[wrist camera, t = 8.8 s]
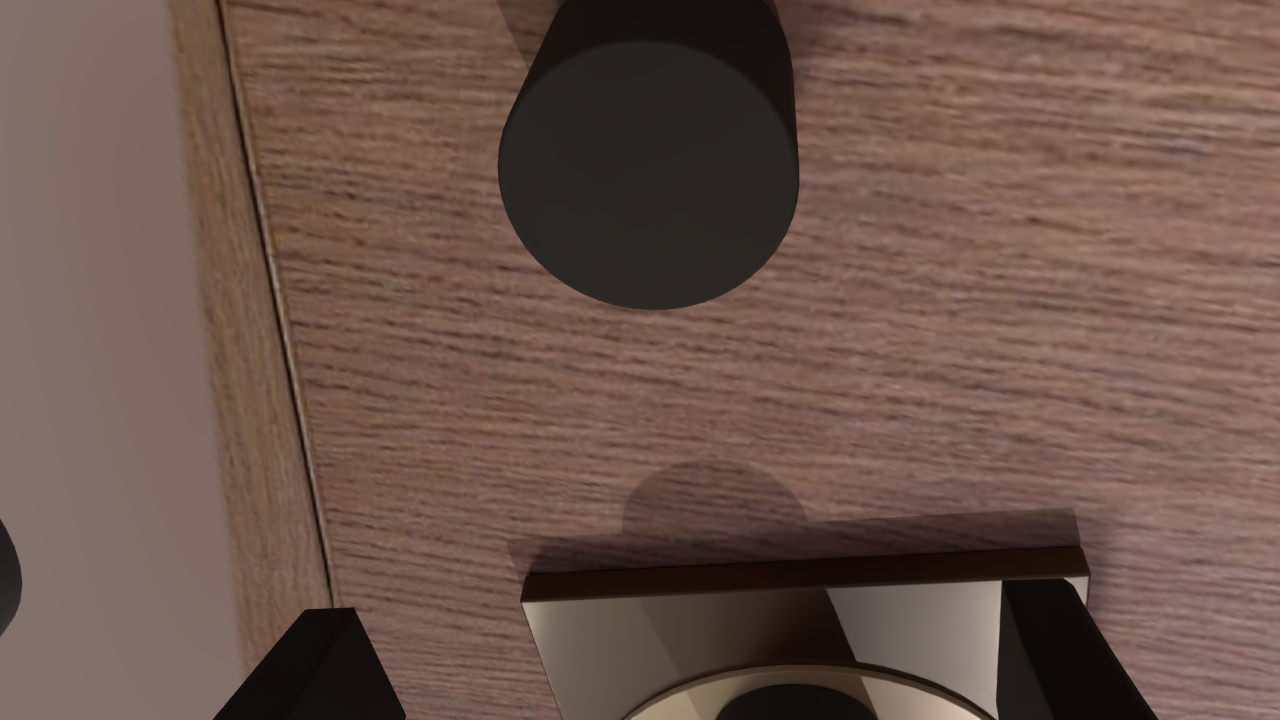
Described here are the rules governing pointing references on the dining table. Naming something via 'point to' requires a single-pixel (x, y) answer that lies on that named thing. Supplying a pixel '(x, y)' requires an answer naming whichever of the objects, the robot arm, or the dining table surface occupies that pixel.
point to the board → (784, 633)
